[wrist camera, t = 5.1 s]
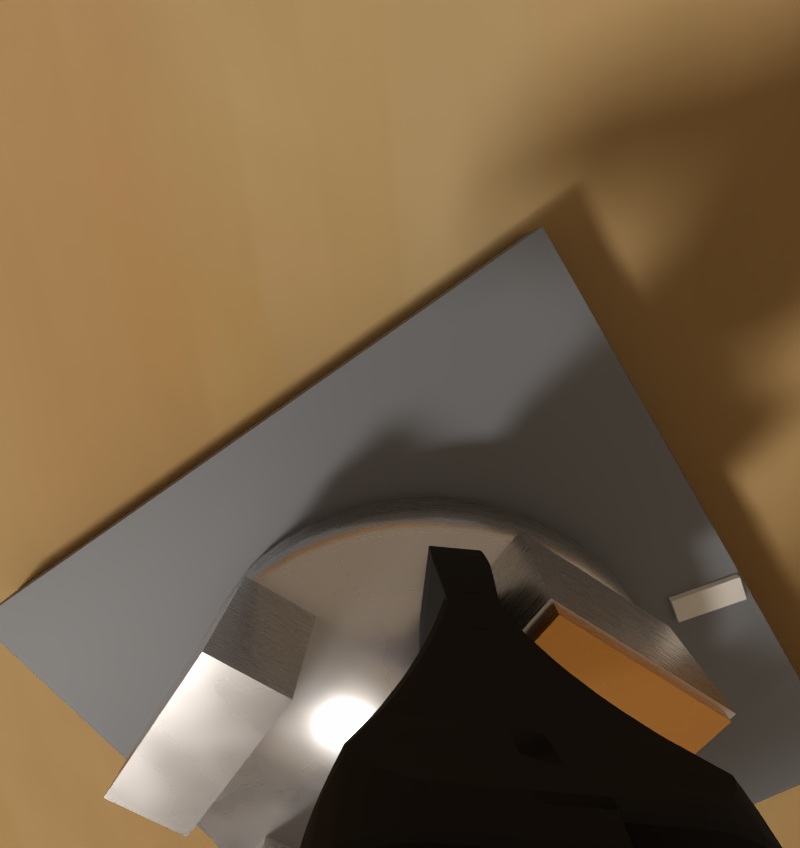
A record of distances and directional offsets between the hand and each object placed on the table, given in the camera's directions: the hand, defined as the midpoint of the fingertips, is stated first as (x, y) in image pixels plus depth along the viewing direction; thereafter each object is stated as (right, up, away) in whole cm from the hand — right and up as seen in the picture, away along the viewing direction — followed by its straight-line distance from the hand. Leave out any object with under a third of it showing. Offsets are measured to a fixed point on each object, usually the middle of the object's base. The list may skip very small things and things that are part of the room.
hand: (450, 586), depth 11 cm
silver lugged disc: (0, -5, +4) cm, 6 cm away
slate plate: (0, -5, +6) cm, 7 cm away
